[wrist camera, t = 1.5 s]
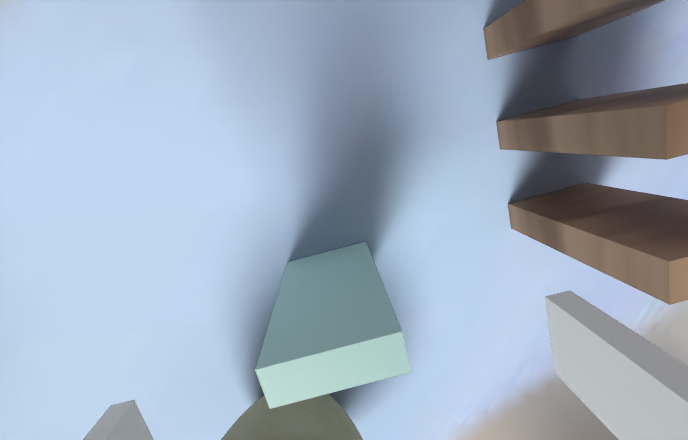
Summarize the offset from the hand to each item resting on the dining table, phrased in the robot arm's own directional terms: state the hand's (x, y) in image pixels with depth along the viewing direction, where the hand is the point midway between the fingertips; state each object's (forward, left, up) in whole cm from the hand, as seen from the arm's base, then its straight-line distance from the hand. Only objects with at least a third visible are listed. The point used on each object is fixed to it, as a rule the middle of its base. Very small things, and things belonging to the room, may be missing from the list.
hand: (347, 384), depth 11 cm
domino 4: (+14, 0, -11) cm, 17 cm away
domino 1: (0, 0, -11) cm, 11 cm away
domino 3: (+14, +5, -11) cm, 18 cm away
